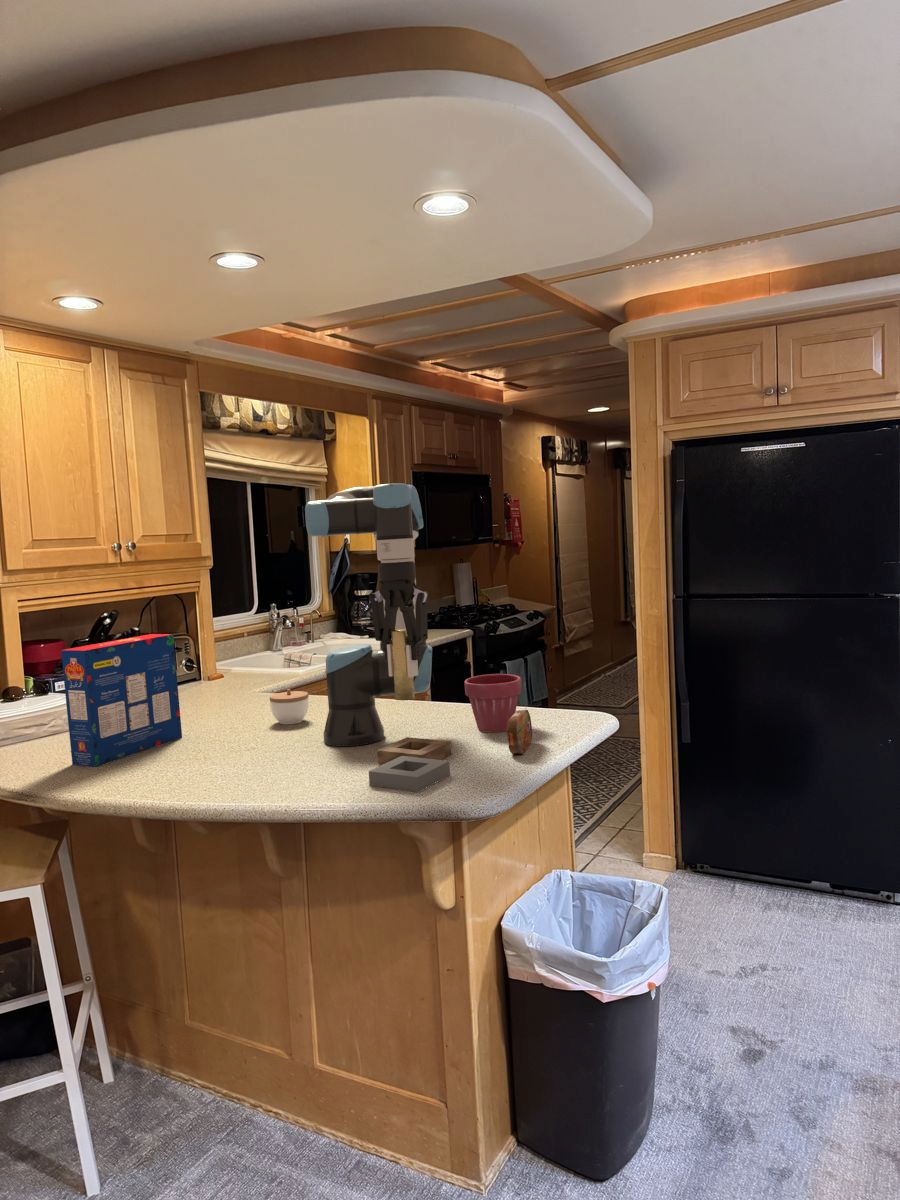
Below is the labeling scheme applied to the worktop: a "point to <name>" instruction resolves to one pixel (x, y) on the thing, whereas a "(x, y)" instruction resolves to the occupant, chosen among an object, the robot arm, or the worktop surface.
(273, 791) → the worktop surface
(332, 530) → the robot arm
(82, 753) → the pasta box
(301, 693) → the lidded jar
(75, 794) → the worktop surface
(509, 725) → the tin
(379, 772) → the plate
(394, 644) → the lock pin
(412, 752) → the brown wooden square frame
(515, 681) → the plant pot
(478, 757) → the worktop surface
